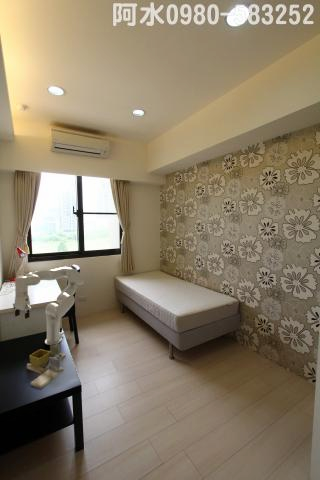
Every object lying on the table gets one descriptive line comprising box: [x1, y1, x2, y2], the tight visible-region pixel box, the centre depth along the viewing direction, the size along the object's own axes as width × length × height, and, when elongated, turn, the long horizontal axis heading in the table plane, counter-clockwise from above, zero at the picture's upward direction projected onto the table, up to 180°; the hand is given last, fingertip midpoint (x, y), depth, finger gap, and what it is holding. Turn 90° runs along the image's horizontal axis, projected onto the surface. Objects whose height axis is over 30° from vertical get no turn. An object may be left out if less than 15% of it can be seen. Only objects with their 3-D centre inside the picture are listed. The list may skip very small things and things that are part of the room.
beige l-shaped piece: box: [30, 355, 64, 389], centre depth 137 cm, size 17×8×10 cm, turn 160°
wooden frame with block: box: [26, 343, 67, 375], centre depth 152 cm, size 20×14×8 cm
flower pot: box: [29, 348, 50, 368], centre depth 147 cm, size 9×9×9 cm
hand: (22, 316), depth 158 cm, fingers open, 9 cm apart
